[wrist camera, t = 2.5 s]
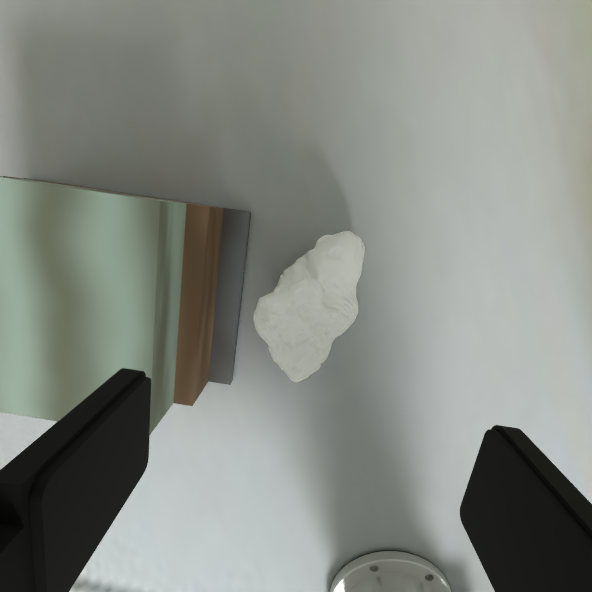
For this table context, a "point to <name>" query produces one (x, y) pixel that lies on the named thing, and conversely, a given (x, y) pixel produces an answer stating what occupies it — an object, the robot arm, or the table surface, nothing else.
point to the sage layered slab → (114, 295)
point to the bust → (312, 304)
